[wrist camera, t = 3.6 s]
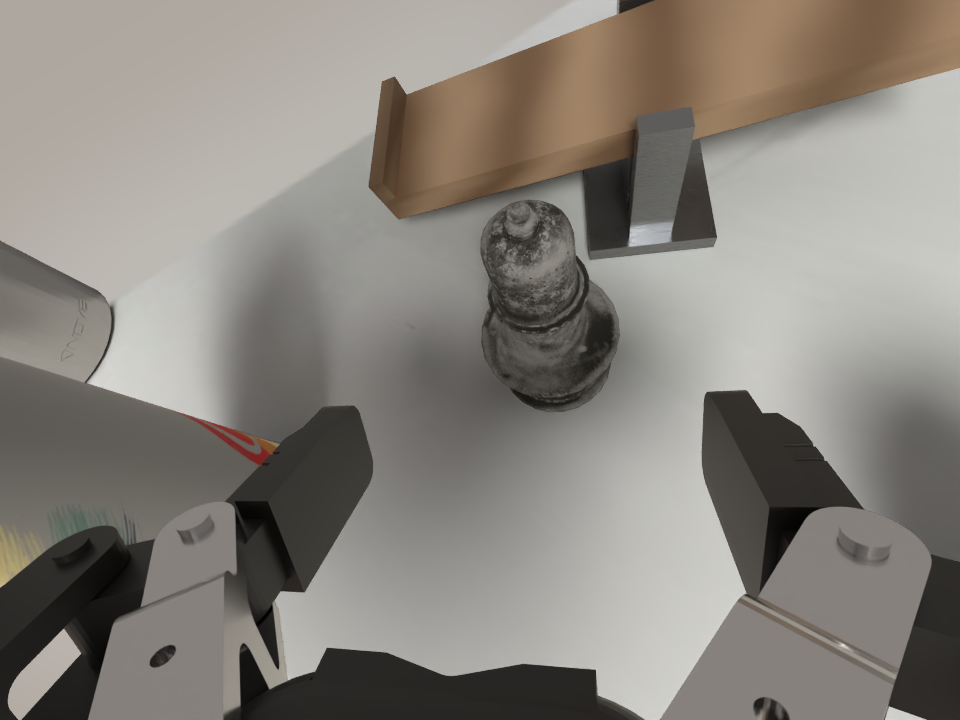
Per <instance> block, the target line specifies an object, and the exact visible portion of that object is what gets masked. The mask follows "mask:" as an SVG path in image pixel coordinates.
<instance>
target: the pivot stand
mask: <svg viewBox="0 0 960 720" xmlns="http://www.w3.org/2000/svg"><path fill="white" fill-rule="evenodd" d="M652 1H654V0H617V14H620V13H623V12H625V11H628V10H631V9H633V8H636V7H638V6H641V5H644V4H646V3H649V2H652ZM694 130H695V123H694V117H693V112H692V107H686V108H680V109H674V110H668V111H662V112H656V113H650V114H644V115H638V116H636V127H635V139H634V151H633V156H631V157H628V158H624V159H620V160H617V161H613V162H609V163H606V164H602V165H598V166H594V167H591V168H587V169H584V181H585V195H586V209H587V224H588V238H589V252H590V260H592V259H601V258H611V257H620V256H630V255H639V254H649V253H658V252H668V251H677V250H687V249H696V248H706V247H713V246H714V244H715V241H716V238H717V235H716V229H715V224H714V218H713V213H712V207H711V202H710V197H709V191H708V186H707V180H706V175H705V169H704V164H703V158H702V153H701V147H700V142H699V138H698V139H694V140H692V139H693V134H694Z"/></svg>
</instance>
